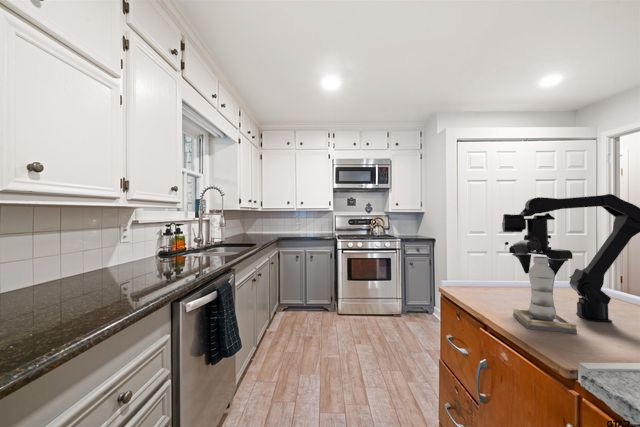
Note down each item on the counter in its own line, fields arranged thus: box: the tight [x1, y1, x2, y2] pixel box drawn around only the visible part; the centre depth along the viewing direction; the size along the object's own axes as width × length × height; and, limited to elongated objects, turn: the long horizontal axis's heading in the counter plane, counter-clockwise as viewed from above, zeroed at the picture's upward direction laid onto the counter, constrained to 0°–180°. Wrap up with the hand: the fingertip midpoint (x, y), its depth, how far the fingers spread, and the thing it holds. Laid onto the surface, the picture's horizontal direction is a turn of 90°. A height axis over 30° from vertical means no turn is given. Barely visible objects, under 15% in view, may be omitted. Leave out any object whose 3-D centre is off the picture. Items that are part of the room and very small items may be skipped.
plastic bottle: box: [528, 255, 557, 321], centre depth 86 cm, size 6×7×20 cm
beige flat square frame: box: [512, 308, 578, 334], centre depth 85 cm, size 12×12×2 cm
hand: (538, 275), depth 96 cm, fingers open, 9 cm apart
